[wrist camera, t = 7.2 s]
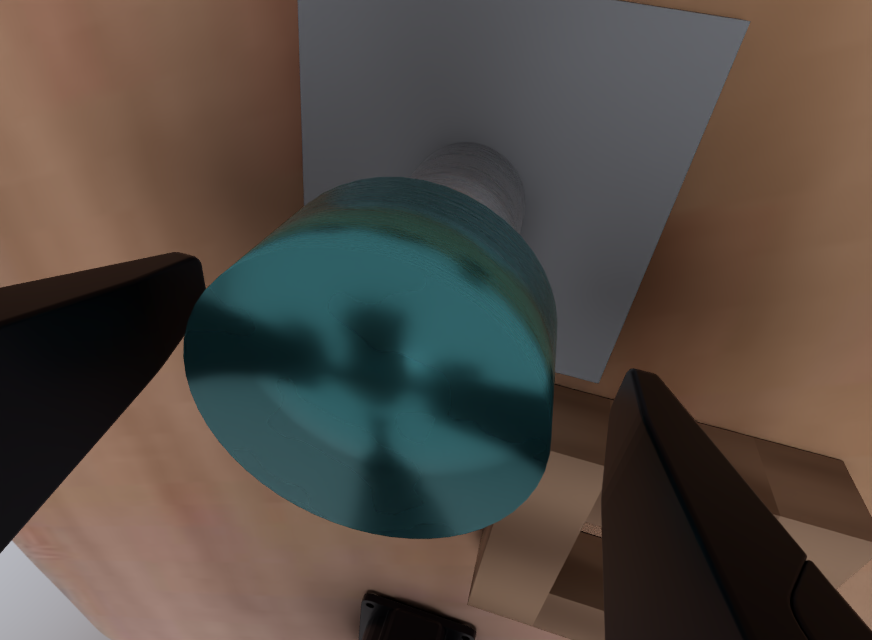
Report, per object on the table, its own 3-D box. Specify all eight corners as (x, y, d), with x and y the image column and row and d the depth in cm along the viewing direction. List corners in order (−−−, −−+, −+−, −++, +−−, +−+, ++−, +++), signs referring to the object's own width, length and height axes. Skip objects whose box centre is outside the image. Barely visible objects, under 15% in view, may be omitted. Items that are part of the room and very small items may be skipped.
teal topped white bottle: (590, 121, 12) (608, 308, 5) (537, 302, 15) (505, 572, 8) (381, 83, 13) (149, 203, 6) (371, 264, 16) (210, 487, 9)
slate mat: (598, 371, 17) (598, 383, 16) (314, 298, 18) (307, 307, 17) (743, 19, 11) (750, 21, 10) (308, -49, 12) (296, -50, 12)
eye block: (706, 611, 22) (720, 689, 19) (480, 539, 23) (467, 604, 21) (842, 461, 16) (886, 546, 14) (531, 378, 17) (520, 442, 15)
